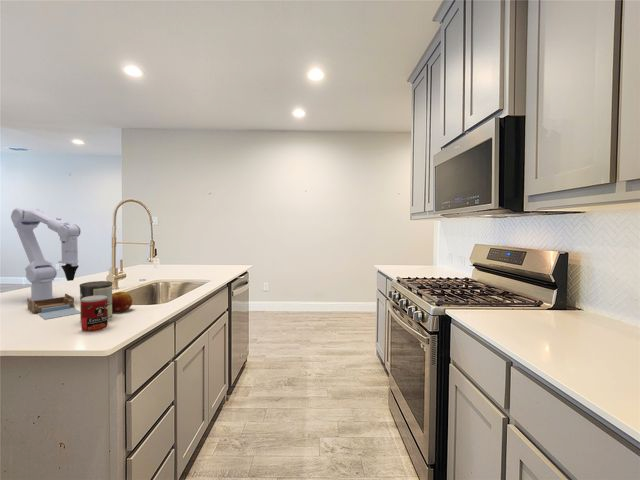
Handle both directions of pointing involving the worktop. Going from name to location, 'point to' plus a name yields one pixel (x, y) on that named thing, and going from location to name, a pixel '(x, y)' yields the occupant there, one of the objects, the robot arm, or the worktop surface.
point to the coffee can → (97, 292)
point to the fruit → (121, 301)
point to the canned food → (94, 313)
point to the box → (50, 303)
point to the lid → (57, 312)
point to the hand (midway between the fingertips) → (70, 280)
